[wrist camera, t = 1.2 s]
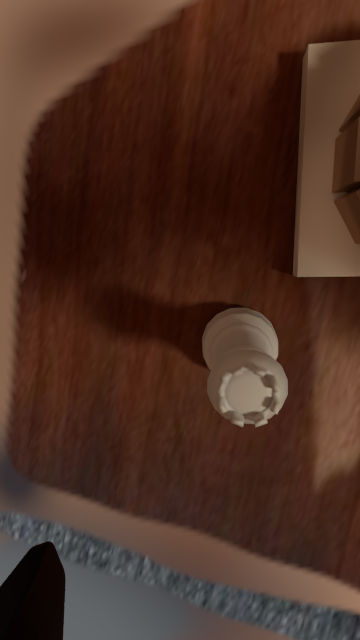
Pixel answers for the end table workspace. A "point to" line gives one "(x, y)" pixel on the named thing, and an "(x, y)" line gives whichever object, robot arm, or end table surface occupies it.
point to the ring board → (329, 163)
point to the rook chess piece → (243, 367)
